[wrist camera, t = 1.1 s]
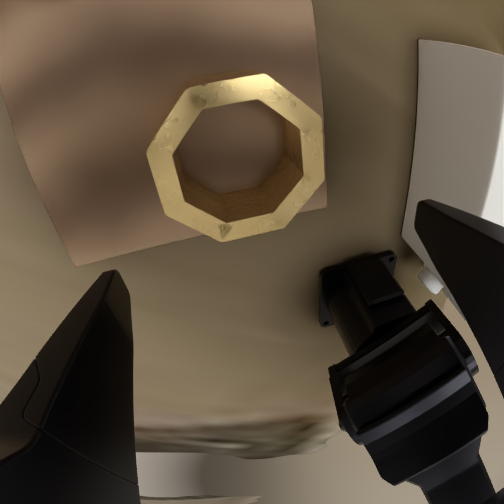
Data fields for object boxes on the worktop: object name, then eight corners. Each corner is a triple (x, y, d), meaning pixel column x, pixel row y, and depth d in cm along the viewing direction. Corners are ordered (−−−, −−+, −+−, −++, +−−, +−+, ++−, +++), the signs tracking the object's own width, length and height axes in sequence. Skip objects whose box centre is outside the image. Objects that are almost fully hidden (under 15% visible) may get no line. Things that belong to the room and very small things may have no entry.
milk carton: (563, 78, 9) (494, 308, 21) (486, 51, 14) (450, 257, 26) (507, 54, 8) (434, 336, 20) (416, 36, 14) (391, 274, 26)
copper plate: (321, 199, 20) (327, 207, 19) (79, 257, 19) (75, 266, 18) (281, -112, 7) (287, -119, 7) (-10, -31, 6) (-18, -33, 6)
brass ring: (305, 192, 18) (325, 219, 16) (178, 220, 18) (178, 252, 15) (294, 63, 13) (317, 68, 11) (142, 92, 13) (132, 102, 11)
